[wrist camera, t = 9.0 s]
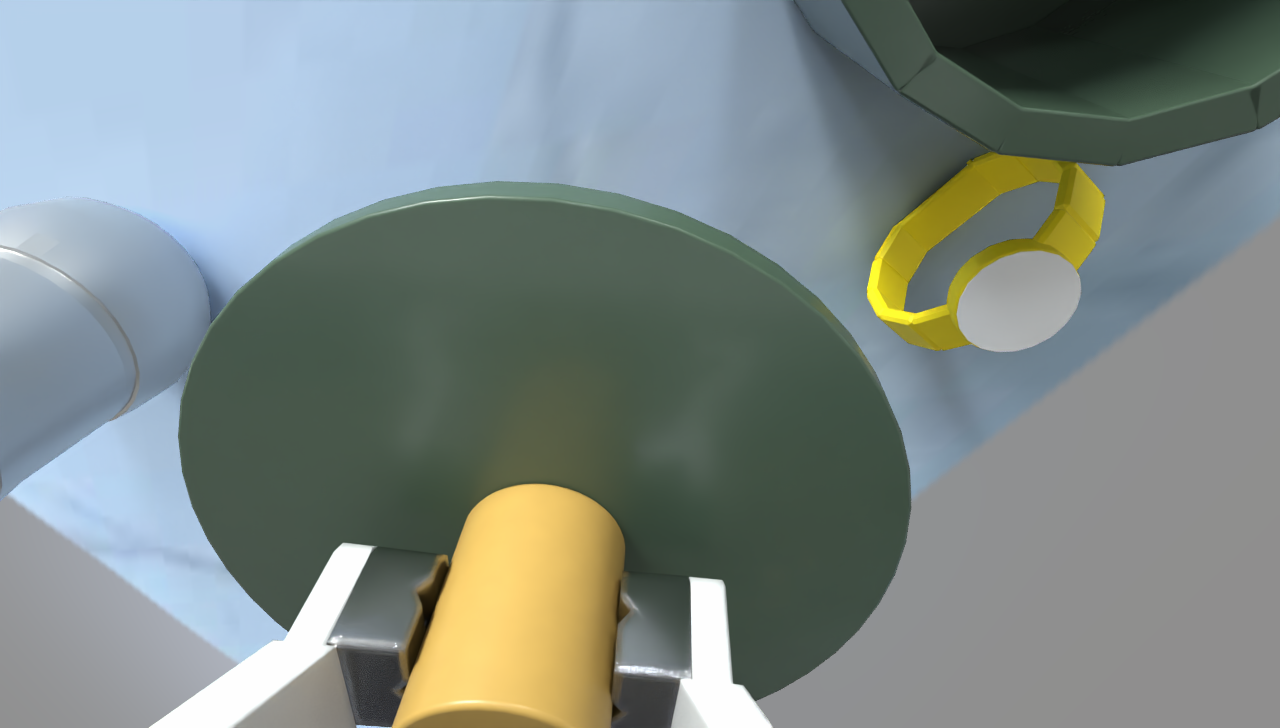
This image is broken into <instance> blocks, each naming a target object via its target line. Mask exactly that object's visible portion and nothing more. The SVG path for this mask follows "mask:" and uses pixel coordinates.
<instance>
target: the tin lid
mask: <svg viewBox="0 0 1280 728" xmlns="http://www.w3.org/2000/svg"><path fill="white" fill-rule="evenodd" d="M178 439H179V448H180V457H181V466H182V473H183V477H184V480H185V483H186V487H187V490H188V494H189V497H190V501H191V504H192V507H193V509H194V511H195V514H196V516H197V518H198V520H199V522H200V524H201V526H202V529H203V531H204V533H205V535H206V537H207V539H208V541H209V542H210V544H211V545H212V547H213V548H214V550H215V552H216V553H217V555H218V556H219V558H220V559H221V561H222V562H223V564H224V566H225V567H226V569H227V570H228V571H229V572H230V574H231V575H232V576H233V577H234V578H235V580H236V581H237V582H238V583H239V584H240V586H241V587H242V588H243V589H244V590H245V592H246V593H247V594H248V595H249V596H250V597H251V598H252V599H253V600H254V601H255V602H256V603H257V604H258V605H259V606H260V607H261V608H262V609H263V610H264V611H265V612H266V613H267V614H268V615H269V616H270V617H271V618H272V619H273V620H274V621H276V622H277V623H278V624H279V625H280V626H282V627H283V628H284V629H286V630H287V631H288V632H289V631H290V629H291V627H292V625H293V624H294V622H295V620H296V618H297V616H298V615H299V613H300V611H301V609H302V607H303V606H304V604H305V602H306V600H307V599H308V597H309V595H310V593H311V591H312V590H313V588H314V586H315V584H316V582H317V581H318V579H319V577H320V575H321V573H322V572H323V570H324V568H325V566H326V564H327V563H328V561H329V559H330V557H331V555H332V554H333V552H334V551H335V550H336V549H337V548H338V547H339V546H340V545H341V544H342V543H351V544H360V545H369V546H379V547H387V548H395V549H403V550H411V551H420V552H428V553H436V554H444V555H447V556H448V563H449V569H448V572H447V574H446V577H445V580H444V583H443V586H442V588H441V591H440V594H439V597H438V600H437V602H436V605H435V608H434V611H433V614H432V616H431V619H430V622H429V625H428V627H427V630H426V633H425V636H424V639H423V641H422V644H421V647H420V650H419V653H418V655H417V658H416V661H415V664H414V667H413V669H412V672H411V675H410V678H409V681H408V683H407V686H406V689H405V692H404V695H403V697H402V700H401V703H400V706H399V709H398V711H397V714H396V717H395V720H394V722H393V725H392V728H611V718H612V706H613V703H612V700H611V692H612V679H613V667H614V654H615V645H616V637H617V629H618V623H617V619H618V608H619V598H620V587H621V578H622V571H634V572H646V573H658V574H670V575H682V576H688V578H689V577H696V578H707V579H717V580H723V582H724V584H725V586H726V599H727V612H728V625H729V637H730V650H731V663H732V676H733V684H739V685H744V686H745V688H746V689H747V691H748V692H749V694H750V695H751V696H752V698H753V699H754V701H757V700H759V699H761V698H763V697H766V696H768V695H770V694H772V693H774V692H777V691H779V690H781V689H782V688H784V687H786V686H787V685H789V684H791V683H793V682H794V681H796V680H798V679H799V678H801V677H803V676H804V675H806V674H808V673H809V672H811V671H812V670H813V669H815V668H816V667H817V666H819V665H820V664H821V663H823V662H824V661H825V660H827V659H828V658H829V657H831V656H832V655H833V654H835V653H836V652H837V651H838V650H839V649H840V648H841V647H842V646H843V645H844V644H845V643H846V642H847V641H848V640H849V639H850V638H851V637H852V636H853V635H854V634H855V633H856V632H857V631H858V630H859V629H860V628H861V627H862V625H863V624H864V623H865V621H866V620H867V618H868V617H869V616H870V615H871V614H872V612H873V611H874V610H875V608H876V607H877V606H878V604H879V603H880V601H881V599H882V597H883V595H884V594H885V592H886V590H887V588H888V586H889V584H890V583H891V581H892V579H893V577H894V576H895V573H896V570H897V567H898V564H899V561H900V558H901V555H902V552H903V550H904V547H905V544H906V538H907V532H908V525H909V519H910V512H911V485H910V468H909V463H908V459H907V455H906V450H905V446H904V442H903V437H902V433H901V430H900V428H899V425H898V423H897V420H896V418H895V416H894V413H893V411H892V409H891V406H890V404H889V402H888V399H887V397H886V395H885V392H884V390H883V388H882V386H881V384H880V381H879V379H878V377H877V375H876V372H875V371H874V369H873V368H872V366H871V365H870V363H869V362H868V360H867V358H866V357H865V355H864V354H863V352H862V351H861V349H860V348H859V346H858V345H857V343H856V341H855V340H854V338H853V337H852V335H851V334H850V333H849V332H848V331H847V329H846V328H845V327H844V326H843V325H842V324H841V323H840V322H839V320H838V319H837V318H836V317H835V316H834V315H833V314H832V313H831V312H830V310H829V309H828V308H827V307H826V306H825V305H824V304H823V303H822V302H821V300H820V299H819V298H818V297H816V296H815V295H814V294H813V293H812V292H810V291H809V290H808V289H807V288H806V287H804V286H803V285H802V284H801V283H800V282H798V281H797V280H796V279H795V278H794V277H792V276H791V275H790V274H789V273H788V272H786V271H785V270H784V269H783V268H782V267H780V266H779V265H778V264H776V263H775V262H773V261H771V260H770V259H768V258H767V257H765V256H763V255H762V254H760V253H758V252H757V251H755V250H754V249H752V248H750V247H749V246H747V245H745V244H744V243H742V242H741V241H739V240H737V239H736V238H734V237H733V236H731V235H729V234H727V233H724V232H722V231H720V230H718V229H715V228H713V227H711V226H709V225H706V224H704V223H702V222H700V221H698V220H695V219H693V218H691V217H689V216H686V215H684V214H682V213H680V212H677V211H674V210H671V209H668V208H664V207H661V206H658V205H654V204H651V203H648V202H645V201H641V200H638V199H635V198H631V197H628V196H625V195H621V194H617V193H611V192H605V191H599V190H593V189H587V188H581V187H575V186H570V185H564V184H555V183H529V182H503V181H495V182H485V183H474V184H463V185H453V186H442V187H436V188H431V189H427V190H423V191H419V192H415V193H410V194H406V195H402V196H398V197H393V198H389V199H385V200H382V201H379V202H377V203H374V204H372V205H369V206H367V207H364V208H362V209H359V210H357V211H354V212H352V213H349V214H347V215H344V216H342V217H339V218H337V219H334V220H333V221H331V222H329V223H328V224H326V225H324V226H323V227H321V228H319V229H318V230H316V231H314V232H313V233H311V234H309V235H307V236H306V237H304V238H302V239H301V240H299V241H297V242H296V243H294V244H292V245H291V246H290V247H289V248H287V249H286V250H285V251H284V252H282V253H281V254H280V255H279V256H278V257H276V258H275V259H274V260H273V261H272V262H270V263H269V264H268V265H267V266H266V267H265V268H263V269H262V270H261V271H260V272H259V273H258V274H256V275H255V276H254V277H253V278H252V279H251V280H249V281H248V282H247V283H246V284H245V285H244V286H242V287H241V288H240V289H239V290H238V291H237V292H236V293H235V294H234V296H233V297H232V298H231V299H230V301H229V302H228V303H227V305H226V306H225V307H224V308H223V310H222V311H221V312H220V313H219V315H218V316H217V317H216V318H215V320H214V321H213V322H212V323H211V325H210V326H209V328H208V330H207V332H206V334H205V336H204V338H203V340H202V342H201V344H200V346H199V348H198V350H197V352H196V354H195V356H194V358H193V359H192V362H191V365H190V369H189V372H188V376H187V380H186V383H185V387H184V390H183V394H182V398H181V405H180V419H179V432H178Z"/></svg>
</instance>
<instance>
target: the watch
mask: <svg viewBox="0 0 1280 728" xmlns="http://www.w3.org/2000/svg"><path fill="white" fill-rule="evenodd" d="M966 164H968V165H967V166H966V167H965V168H964V169H962V170H961V171H960V172H959V173H958V174H956V175H955V176H954V177H953V178H952V179H950V180H949V181H948V182H947V183H946V184H944V185H943V186H942V187H941V188H940V189H938V190H937V191H936V192H935V193H934V194H933V195H931V196H930V197H929V198H928V199H927V200H925V201H924V202H923V203H922V204H921V205H919V206H918V207H917V208H916V209H915V210H913V211H912V212H911V213H910V214H909V215H907V216H906V217H905V218H904V219H903V220H901V221H900V222H899V223H898V224H897V225H896V226H894V227H893V228H892V230H891V232H890V233H889V235H888V236H887V238H886V240H885V241H884V243H883V245H882V246H881V248H880V249H879V251H878V253H877V254H876V256H875V261H873V263H872V268H871V273H870V278H869V283H868V288H867V298H868V300H869V302H870V303H871V305H872V307H873V309H874V311H875V313H876V315H877V317H878V318H880V319H881V320H882V321H883V322H884V323H885V324H886V325H888V326H889V327H890V328H891V329H892V330H893V331H894V332H896V333H897V334H898V335H899V336H900V337H901V338H902V339H904V340H905V341H906V342H907V343H909V344H913V345H916V346H920V347H924V348H928V349H931V350H935V351H939V350H941V349H942V350H943V351H944V350H949V349H953V348H957V347H961V346H965V345H969V344H973V345H974V346H976V347H978V348H980V349H985V350H989V351H993V352H1015V351H1019V350H1022V349H1026V348H1030V347H1033V346H1035V345H1037V344H1039V343H1041V342H1043V341H1045V340H1047V339H1049V338H1050V337H1052V336H1053V335H1054V334H1055V333H1057V332H1058V331H1059V330H1060V329H1061V328H1062V327H1063V326H1065V325H1066V324H1067V322H1068V321H1069V319H1070V318H1071V316H1072V315H1073V314H1074V312H1075V311H1076V309H1077V306H1078V303H1079V299H1080V296H1081V283H1080V277H1079V274H1078V272H1077V270H1078V269H1079V267H1080V266H1081V265H1082V263H1083V262H1084V261H1085V259H1086V258H1087V257H1088V255H1089V254H1090V252H1091V251H1092V250H1093V248H1094V247H1095V245H1096V244H1095V242H1096V241H1098V239H1099V236H1100V230H1101V224H1102V219H1103V213H1104V207H1105V200H1104V195H1103V193H1102V192H1101V191H1100V190H1099V189H1098V188H1097V186H1096V185H1095V184H1094V183H1093V182H1092V181H1091V179H1090V178H1089V177H1088V176H1087V175H1086V174H1085V172H1084V171H1083V170H1082V169H1081V168H1080V167H1079V165H1078V164H1077V163H1075V162H1066V161H1056V160H1047V159H1037V158H1027V157H1018V156H1008V155H999V154H997V153H995V152H989V153H986V154H984V155H981V156H979V157H976V158H974V160H973V161H972V159H970V160H969V161H968V162H967V163H966ZM1039 181H1041V182H1052V183H1059V187H1058V192H1057V197H1056V201H1055V206H1054V210H1053V212H1052V213H1051V214H1050V216H1049V217H1048V218H1047V220H1046V221H1045V223H1044V224H1043V225H1042V227H1041V228H1040V229H1039V231H1038V232H1037V233H1036V235H1035V236H1034V238H1033V239H1011V240H1007V241H1004V242H1001V243H997V244H994V245H991V246H989V247H987V248H986V249H984V250H982V251H981V252H979V253H977V254H976V255H974V256H973V257H971V258H970V259H969V260H968V261H967V262H966V263H965V264H964V265H963V266H962V267H961V268H960V269H959V271H958V272H957V274H956V275H955V277H954V279H953V281H952V283H951V285H950V287H949V291H948V297H947V304H946V305H942V306H939V307H936V308H932V309H929V310H926V311H923V312H919V313H911V312H906V311H904V305H905V298H906V292H907V286H908V283H909V282H910V280H911V278H912V277H913V275H914V273H915V272H916V270H917V268H918V267H919V265H920V263H921V262H922V260H923V258H924V257H925V255H926V253H927V252H928V251H929V250H930V249H932V248H933V247H934V246H935V245H937V244H938V243H939V242H940V241H942V240H943V239H944V238H945V237H947V236H948V235H949V234H951V233H952V232H953V231H954V230H956V229H957V228H958V227H959V226H961V225H962V224H963V223H964V222H966V221H967V220H968V219H970V218H971V217H972V216H973V215H975V214H976V213H977V212H978V211H980V210H981V209H982V208H983V207H985V206H986V205H987V204H989V203H990V202H991V201H992V200H994V199H995V198H996V197H997V196H999V195H1000V194H1002V193H1005V192H1008V191H1011V190H1014V189H1017V188H1020V187H1023V186H1027V185H1030V184H1033V183H1036V182H1039Z"/></svg>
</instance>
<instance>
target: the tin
mask: <svg viewBox="0 0 1280 728" xmlns="http://www.w3.org/2000/svg"><path fill="white" fill-rule="evenodd" d="M793 1H794V2H795V3H796V5H797V6H798V7H799V9H800V10H801V12H802V13H803V15H804V16H805V18H806V20H807V21H808V23H809V24H810V26H811V28H812V29H813V31H815V32H816V33H817V34H818V35H819V36H820V37H822V38H823V39H825V40H826V41H827V42H829V43H830V44H831V45H833V46H834V47H835V48H837V49H838V50H839V51H841V52H842V53H843V54H845V55H846V56H848V57H849V58H850V59H852V60H853V61H854V62H856V63H857V64H858V65H860V66H861V67H862V68H864V69H865V70H866V71H868V72H869V73H870V74H872V75H873V76H875V77H876V78H877V79H879V80H880V81H881V82H883V83H884V84H885V85H887V86H888V87H889V88H891V89H892V90H893V91H895V92H896V93H898V94H899V95H900V96H902V97H904V98H905V99H907V100H908V101H910V102H912V103H913V104H915V105H916V106H918V107H920V108H921V109H923V110H924V111H926V112H928V113H929V114H931V115H933V116H934V117H936V118H937V119H939V120H941V121H942V122H944V123H945V124H947V125H949V126H950V127H952V128H953V129H955V130H957V131H958V132H960V133H961V134H963V135H965V136H966V137H968V138H970V139H971V140H973V141H974V142H976V143H978V144H979V145H981V146H982V147H984V148H986V149H987V150H989V151H990V152H995V153H997V154H999V155H1008V156H1018V157H1027V158H1037V159H1047V160H1056V161H1066V162H1075V163H1085V164H1095V165H1104V166H1116V165H1117V166H1122V165H1126V164H1130V163H1133V162H1137V161H1141V160H1145V159H1149V158H1153V157H1156V156H1160V155H1164V154H1168V153H1172V152H1176V151H1179V150H1183V149H1187V148H1191V147H1195V146H1199V145H1202V144H1206V143H1210V142H1214V141H1218V140H1222V139H1225V138H1229V137H1233V136H1237V135H1241V134H1245V133H1248V132H1252V131H1255V130H1256V129H1260V128H1262V127H1264V126H1266V125H1267V124H1269V123H1271V122H1273V121H1274V120H1276V119H1278V118H1279V117H1280V0H793Z"/></svg>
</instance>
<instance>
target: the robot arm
mask: <svg viewBox="0 0 1280 728" xmlns="http://www.w3.org/2000/svg"><path fill="white" fill-rule="evenodd" d="M448 569H449V563H448V556H447V555H444V554H436V553H428V552H420V551H411V550H403V549H395V548H387V547H379V546H369V545H360V544H351V543H342V544H341V545H340V546H339V547H338V548H337V549H336V550H335V551H334V552H333V554H332V555H331V557H330V559H329V561H328V563H327V564H326V566H325V568H324V570H323V572H322V573H321V575H320V577H319V579H318V581H317V582H316V584H315V586H314V588H313V590H312V591H311V593H310V595H309V597H308V599H307V600H306V602H305V604H304V606H303V607H302V609H301V611H300V613H299V615H298V616H297V618H296V620H295V622H294V624H293V625H292V627H291V629H290V631H289V633H288V634H287V636H286V638H285V640H284V641H279V640H273V641H271V642H270V643H268V644H267V645H266V646H264V647H263V648H261V649H260V650H258V651H257V652H256V653H254V654H253V655H251V656H250V657H249V658H247V659H246V660H244V661H243V662H241V663H240V664H239V665H237V666H236V667H234V668H233V669H232V670H230V671H229V672H227V673H226V674H224V675H223V676H222V677H220V678H219V679H217V680H216V681H214V682H213V683H212V684H210V685H209V686H207V687H206V688H205V689H203V690H202V691H200V692H199V693H197V694H196V695H195V696H193V697H192V698H190V699H189V700H188V701H186V702H185V703H183V704H182V705H181V706H179V707H178V708H176V709H175V710H173V711H172V712H171V713H169V714H168V715H166V716H165V717H164V718H162V719H161V720H159V721H158V722H156V723H155V724H154V725H152V726H151V727H149V728H356V725H366V726H381V727H392V725H393V722H394V720H395V717H396V714H397V711H398V709H399V706H400V703H401V700H402V697H403V695H404V692H405V689H406V686H407V683H408V681H409V678H410V675H411V672H412V669H413V667H414V664H415V661H416V658H417V655H418V653H419V650H420V647H421V644H422V641H423V639H424V636H425V633H426V630H427V627H428V625H429V622H430V619H431V616H432V614H433V611H434V608H435V605H436V602H437V600H438V597H439V594H440V591H441V588H442V586H443V583H444V580H445V577H446V574H447V572H448ZM617 623H618V629H617V637H616V645H615V654H614V667H613V679H612V692H611V700H612V703H613V706H612V718H611V728H773V726H772V725H771V723H770V722H769V720H768V719H767V718H766V716H765V715H764V714H763V712H762V711H761V709H760V708H759V706H758V705H757V703H756V702H755V701H754V699H753V698H752V696H751V695H750V694H749V692H748V691H747V689H746V688H745V686H744V685H739V684H733V676H732V663H731V650H730V637H729V625H728V612H727V599H726V586H725V584H724V582H723V580H717V579H707V578H696V577H689V578H688V576H682V575H670V574H658V573H646V572H634V571H622V578H621V587H620V598H619V608H618V619H617Z"/></svg>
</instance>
